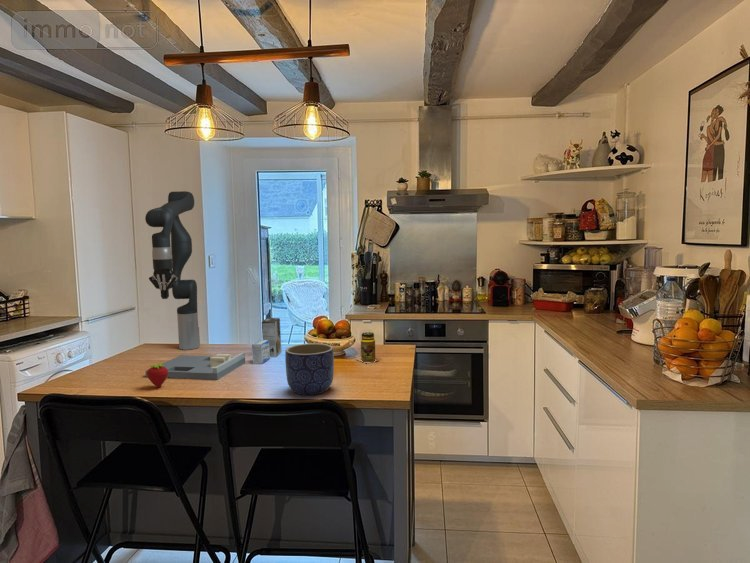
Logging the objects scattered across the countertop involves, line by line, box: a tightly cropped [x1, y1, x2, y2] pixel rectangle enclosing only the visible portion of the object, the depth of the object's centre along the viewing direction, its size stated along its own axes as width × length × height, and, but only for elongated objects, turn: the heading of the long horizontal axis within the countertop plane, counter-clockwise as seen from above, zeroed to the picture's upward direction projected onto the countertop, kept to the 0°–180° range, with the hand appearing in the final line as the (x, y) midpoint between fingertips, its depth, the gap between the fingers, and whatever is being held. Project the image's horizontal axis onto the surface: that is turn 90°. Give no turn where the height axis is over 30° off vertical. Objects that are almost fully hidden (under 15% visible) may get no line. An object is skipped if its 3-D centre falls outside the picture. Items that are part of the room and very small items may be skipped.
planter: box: [284, 342, 335, 395], centre depth 168 cm, size 17×17×15 cm
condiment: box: [360, 332, 376, 363], centre depth 206 cm, size 7×8×12 cm
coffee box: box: [261, 317, 282, 358], centre depth 219 cm, size 9×6×16 cm
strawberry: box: [147, 360, 168, 388], centre depth 175 cm, size 6×8×10 cm
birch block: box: [210, 353, 232, 367], centre depth 195 cm, size 6×6×4 cm
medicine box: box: [251, 339, 271, 365], centre depth 208 cm, size 8×4×9 cm, turn 168°
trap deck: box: [144, 352, 246, 381], centre depth 197 cm, size 24×30×4 cm
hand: (165, 298), depth 206 cm, fingers closed
